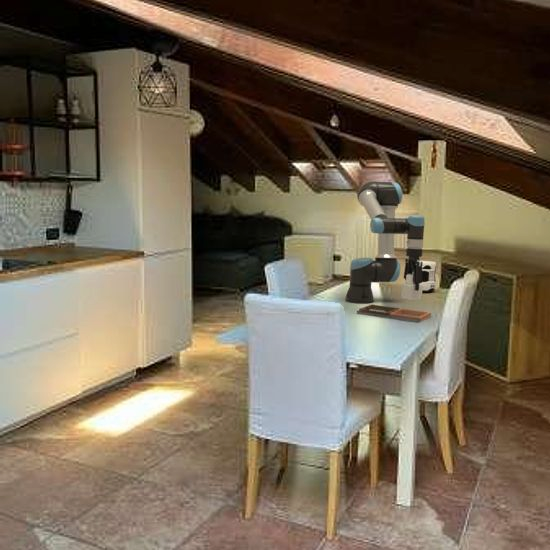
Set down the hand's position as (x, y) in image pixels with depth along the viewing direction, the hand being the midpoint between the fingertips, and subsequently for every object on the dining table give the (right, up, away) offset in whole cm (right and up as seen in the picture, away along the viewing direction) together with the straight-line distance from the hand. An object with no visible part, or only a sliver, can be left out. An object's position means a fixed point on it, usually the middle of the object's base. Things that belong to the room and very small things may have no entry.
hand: (411, 295), depth 290 cm
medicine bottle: (0, -2, 0) cm, 2 cm away
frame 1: (-14, -9, +10) cm, 19 cm away
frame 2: (0, -10, +2) cm, 10 cm away
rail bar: (-12, -10, -2) cm, 16 cm away
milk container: (+24, 0, +80) cm, 84 cm away
